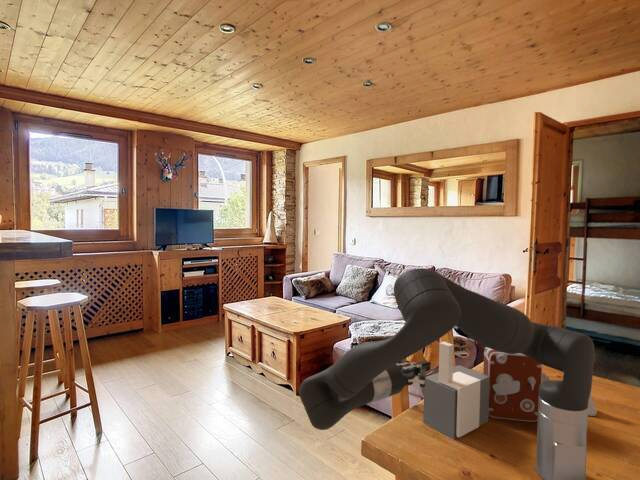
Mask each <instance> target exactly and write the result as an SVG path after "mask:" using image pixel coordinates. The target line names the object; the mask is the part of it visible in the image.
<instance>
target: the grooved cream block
mask: <svg viewBox="0 0 640 480" xmlns="http://www.w3.org/2000/svg"><path fill="white" fill-rule="evenodd" d="M438 347H439V349H438V350H439V351H438V353H439V354H438V361H439V362H438V372H439V379H438V382H440V383H442V384H445V385H447V386H449V387H451V388H454V389H456V390H457V427H456V436H457V437H458V438H461V437H463V436H465V435H467V434H468V433H470V432H472V431H474V430H476V429H478V428H479V427H480V426H479V412H480V380H479V379H477V378H474V377H472V376H469V375H467V374H464V373H461V372H459V371H458V372H456V373H453V367H454V350H455V349H454V344H452V343H449V342H446V341H442V342H439V346H438Z"/></svg>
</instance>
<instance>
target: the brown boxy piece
mask: <svg viewBox="0 0 640 480" xmlns="http://www.w3.org/2000/svg"><path fill="white" fill-rule="evenodd" d="M482 374H484V375H487V376H489V377H490V382H489V414H488V417H491V418H494V419H500V420H501V419H502V420H510V421H521V422H530V423H531V422H533V423H534V422H538V400H539V386H540V384H541V383H542V382H545V381H549V380H550V378H549V375H548V374H547V375H546V374H545V373H543V364H541V363H539V362H537V361H535V360H534V359H532V358H530V357H528V356H526V355H524V354H522V353H517V354H508V353H504V352H500V351H497V350H493V349H490V348H487V347H484V352H483V373H482Z"/></svg>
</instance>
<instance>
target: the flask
mask: <svg viewBox="0 0 640 480" xmlns="http://www.w3.org/2000/svg"><path fill="white" fill-rule="evenodd" d="M597 414H598V409H597V407H596V405H595V402H594V398H593V396H592V392H591V393H590V397H589V401H588V417H589V416H590V417H591V416H592V417H596V416H597Z"/></svg>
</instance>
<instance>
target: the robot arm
mask: <svg viewBox="0 0 640 480" xmlns="http://www.w3.org/2000/svg"><path fill="white" fill-rule="evenodd" d="M393 296H394V299H395V302H396V305H397V307H398V309H399V311H400V313H401V316H402V318H403V319H404V322H405V323H404V325H403V326H402V327H401V328H400V329H399V330H398V331H397V332H396V333H394V335H393V336H390V337H389V338H387V339H382V340H374V341H368V342H367V341H366V342H361V343H359V344H356V345H354V346H353V347H351V348H350V349H349V350H347V351H346V352H345V353H344V354H343V355H342V356H341V357H339V359H338V360H337V361H336V362H334V363H333V364H332V365H331V366H329V367H328V368H326V369H324V370H322V371H320V372H318V373H316V374H314V375H311V376H309V377H306V378H305V379H304V380H303V381H302V382H301V383H300V385H299V387H298V395H299V398H300V401H301V403H302V405H303V407H304V409H305V413H306V415H307V417H308V420H309V422H310V424H311V426H312V427H313V428H314V429H317V430H319V431H324V430H325V431H326V430H329V429H331V428H332V427H334V426H335V425H336V424H338V423H339V422H340V421H341V420H342V419H343V418H344V417H346V415H347V414H349V413H350V412H352V411H354V410H356V409H357V408H359V407H362V406H366V405H367V404H371V403H374V402H379V401H381V400H383V399H387V398H390V397H392V396H394V395H398V394H400V393H401V391H403V389H404V388H405V386H412V385H413V384H417V385H419V387H420V388H424V387H425V380H426V377H427V372H429V371H431V362H430V361H428V360H421V361H418V362H415V361H412V362H410V361H409V360H406V359H407V358H409V357H411V356H412V355H414V354H416V353H418V352H419V351H421V350H422V349H424V348H426V347H428V346H429V345H431V344H432V343H434V342H436V341H438V340H439V339H441V338H442V337H444V336H446V335H447V334H448V333H449V332H451V331H452V329H453V328H454V327H457V328H458V329H459V330H460V331H461V332H462V333H463V334H465V335H466V336H468V337H469V338H470V339H471V340H473V341H474V342H476V343H477V344H479V345H481V346H483V347H484V348H486V347H487V348H490V349H493V350H497V351H500V352H504V353H508V354H517V353H522V354H524V355H526V356H528V357H530V358H532V359H534V360H535V361H537V362H539V363H541V364H542V366H545V367H548V368H551V369H553V370H556V371H558V372H562V373H563V375H562V377H563V378H562V380H561V379H558V380H557V379H556V380H555V379H553V380H552V379H549V381H545V382H542V383H541V384H540V386H539V400H538V421H537V428H536V429H537V431H536V455H535V458H536V460H535V470H536V472H537V474H538V475H539V477H541V478H542V479H543V480H586V476H587V475H586V474H587V473H586V472H587V436H588V435H587V434H588V418H589V416H588V401H589V397H590V393H591V394H592V385H593V376H594V367H595V359H596V358H595V357H596V351H595V349H596V348H595V344H594V342H593V340H592V338H591V337H590V336H589V335H587V334H585V333H581V332H577V331H573V330H570V329H566V328H562V327H559V326H553V325H548V324H543V323H538V322H537V323H536V322H532V320H531V319H530V318H529V317H528V316H527V315H526V313H524V312H522V311H521V310H519V309H517V308H515V307H513V306H510V305H508V304H505V303H502V302H500V301H497V300H494V299H492V298H489V297H488V296H485V295H483V294H479V293H477V292H475V291H472V290H469V289H467V288H465V287H464V286H461V285H460V284H458V283H456V282H455V281H453V280H450V279H449V278H447V277H446V276H444V275H442V274H441V273H439V272H437V271H436V270H433V269H430V268H413V269H409V270H406V271H404V272H403V273H401V274H400V275H399V276H397V278H396V279H395V282H394V284H393Z"/></svg>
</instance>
